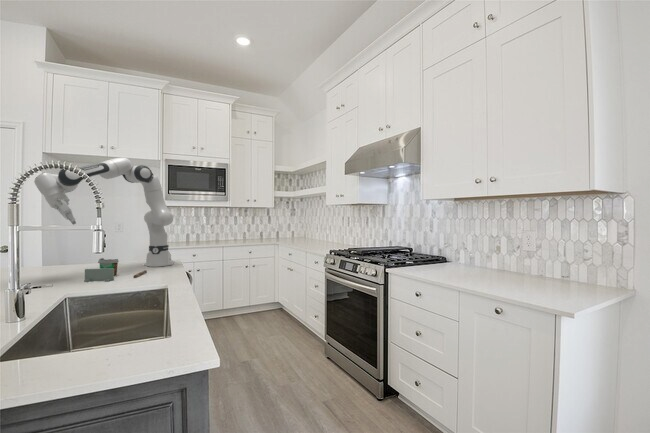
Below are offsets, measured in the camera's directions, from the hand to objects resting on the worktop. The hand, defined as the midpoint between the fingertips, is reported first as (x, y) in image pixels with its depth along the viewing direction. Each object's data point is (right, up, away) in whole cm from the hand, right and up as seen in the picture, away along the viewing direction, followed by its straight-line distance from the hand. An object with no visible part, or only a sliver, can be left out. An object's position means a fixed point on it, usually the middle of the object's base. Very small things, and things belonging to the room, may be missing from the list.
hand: (74, 222), depth 177 cm
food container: (+11, -32, +10) cm, 35 cm away
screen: (+16, -32, -4) cm, 36 cm away
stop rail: (+29, -32, +13) cm, 45 cm away
